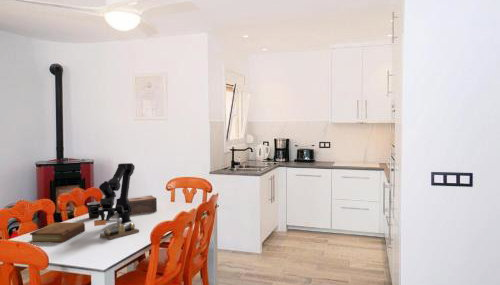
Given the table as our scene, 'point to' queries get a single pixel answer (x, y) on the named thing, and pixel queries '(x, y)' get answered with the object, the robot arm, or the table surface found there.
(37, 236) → the diary
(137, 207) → the tissue box cover
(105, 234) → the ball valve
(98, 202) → the coffee mug
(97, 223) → the valve lever
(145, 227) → the table surface
